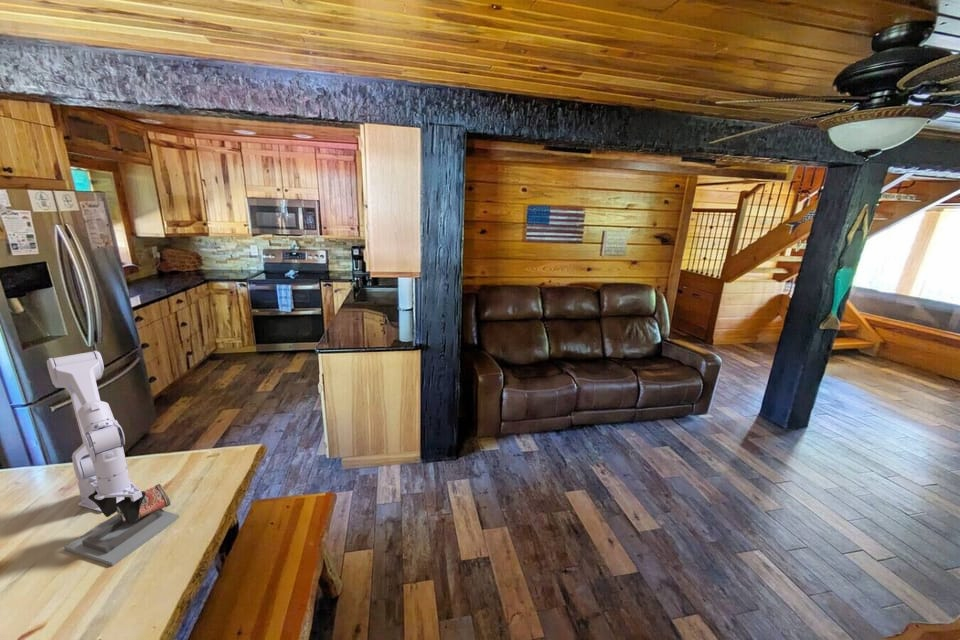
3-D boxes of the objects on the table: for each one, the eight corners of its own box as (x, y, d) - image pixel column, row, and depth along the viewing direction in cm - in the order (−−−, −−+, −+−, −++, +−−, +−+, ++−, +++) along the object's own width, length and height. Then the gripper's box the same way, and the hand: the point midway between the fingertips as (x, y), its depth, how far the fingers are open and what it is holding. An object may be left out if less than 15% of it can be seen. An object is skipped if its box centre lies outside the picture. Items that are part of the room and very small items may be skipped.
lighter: (170, 499, 106) (123, 520, 98) (170, 508, 107) (123, 529, 99) (158, 481, 109) (112, 500, 101) (158, 489, 111) (112, 509, 102)
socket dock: (64, 550, 94) (62, 541, 93) (136, 505, 109) (134, 498, 108) (112, 566, 90) (110, 557, 90) (179, 517, 105) (178, 510, 105)
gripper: (71, 475, 93) (82, 522, 96) (115, 487, 90) (125, 535, 93) (104, 459, 100) (114, 503, 103) (147, 469, 96) (155, 514, 100)
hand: (122, 517), depth 98 cm, fingers open, 7 cm apart
